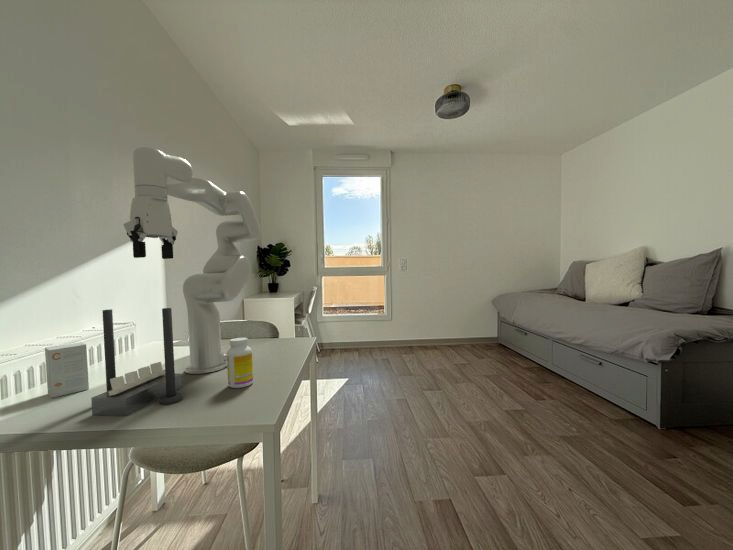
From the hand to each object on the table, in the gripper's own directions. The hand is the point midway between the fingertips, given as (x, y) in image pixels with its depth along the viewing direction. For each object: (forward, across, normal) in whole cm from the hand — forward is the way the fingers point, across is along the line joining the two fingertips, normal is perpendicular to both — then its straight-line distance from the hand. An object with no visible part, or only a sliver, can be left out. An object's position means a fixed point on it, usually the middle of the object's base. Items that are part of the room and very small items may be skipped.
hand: (154, 258), depth 92 cm
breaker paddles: (+32, +7, 0) cm, 33 cm away
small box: (+37, +2, -27) cm, 46 cm away
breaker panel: (+36, +7, 0) cm, 37 cm away
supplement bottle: (+36, -5, +21) cm, 42 cm away
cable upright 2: (+36, +7, +9) cm, 38 cm away
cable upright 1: (+36, +7, -8) cm, 38 cm away
